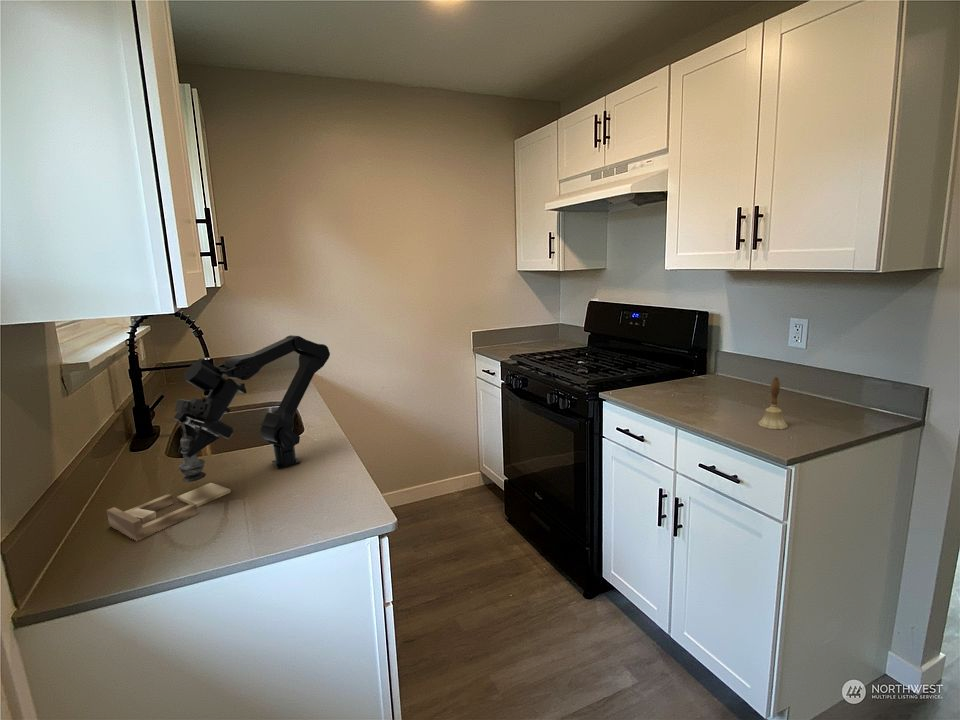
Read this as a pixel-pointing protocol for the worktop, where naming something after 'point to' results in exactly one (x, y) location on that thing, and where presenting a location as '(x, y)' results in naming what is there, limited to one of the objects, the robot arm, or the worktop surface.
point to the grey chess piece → (190, 462)
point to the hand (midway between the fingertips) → (183, 455)
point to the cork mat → (204, 494)
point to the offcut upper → (143, 515)
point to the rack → (138, 531)
